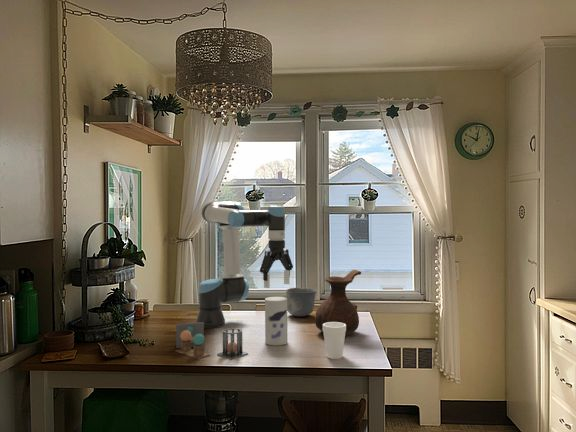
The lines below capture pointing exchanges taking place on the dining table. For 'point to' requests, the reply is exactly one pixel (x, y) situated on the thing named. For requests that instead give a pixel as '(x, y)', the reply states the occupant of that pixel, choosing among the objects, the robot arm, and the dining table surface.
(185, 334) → the rack ball terracotta
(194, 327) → the grey upright block
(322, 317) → the jug
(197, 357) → the rack
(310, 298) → the bowl
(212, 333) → the dining table surface
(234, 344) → the tube ball
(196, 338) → the teal ball
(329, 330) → the foam cup
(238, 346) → the grey barred cage
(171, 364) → the dining table surface
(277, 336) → the container
